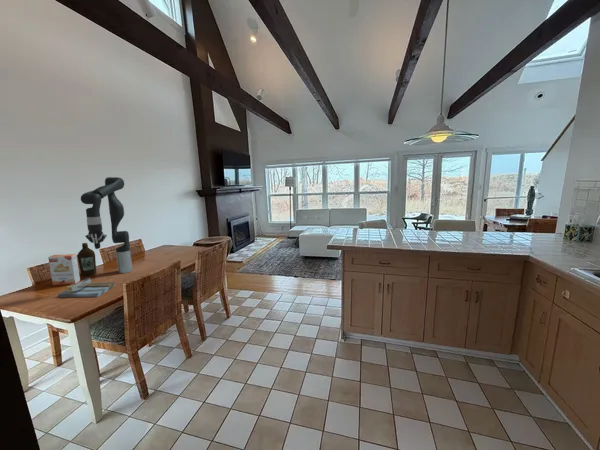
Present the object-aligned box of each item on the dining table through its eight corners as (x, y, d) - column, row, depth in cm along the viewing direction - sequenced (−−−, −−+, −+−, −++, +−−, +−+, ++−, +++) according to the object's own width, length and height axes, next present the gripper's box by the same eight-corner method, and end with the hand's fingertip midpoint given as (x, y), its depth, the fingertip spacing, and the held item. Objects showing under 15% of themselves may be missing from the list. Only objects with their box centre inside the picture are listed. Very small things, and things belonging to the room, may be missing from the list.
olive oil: (79, 273, 200) (75, 243, 196) (96, 270, 207) (92, 241, 203) (80, 277, 192) (76, 245, 188) (98, 274, 200) (94, 243, 196)
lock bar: (87, 282, 174) (86, 277, 173) (91, 282, 174) (91, 277, 173) (71, 291, 160) (71, 285, 160) (77, 290, 161) (76, 285, 160)
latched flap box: (80, 286, 176) (79, 278, 175) (115, 285, 177) (115, 278, 176) (58, 297, 159) (57, 289, 158) (97, 296, 160) (96, 288, 159)
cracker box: (52, 285, 177) (47, 256, 173) (58, 282, 183) (54, 254, 179) (75, 284, 179) (70, 255, 176) (80, 281, 185) (76, 253, 182)
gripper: (108, 222, 173) (111, 247, 176) (88, 222, 173) (91, 247, 175) (100, 224, 166) (103, 249, 169) (79, 224, 165) (83, 250, 168)
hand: (97, 248), depth 172 cm, fingers closed
